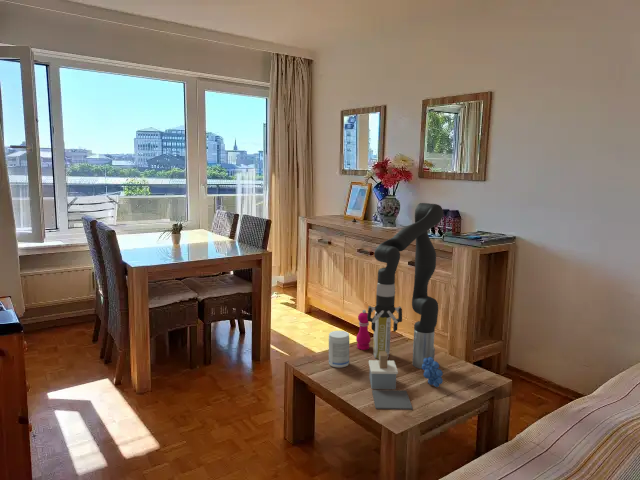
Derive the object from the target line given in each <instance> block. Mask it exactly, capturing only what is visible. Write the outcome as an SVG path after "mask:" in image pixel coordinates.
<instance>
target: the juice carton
mask: <svg viewBox="0 0 640 480" xmlns="http://www.w3.org/2000/svg"><path fill="white" fill-rule="evenodd" d="M376 313H377V312H376V311H374V315H375V314H376ZM391 319H392V318H391V317H389V318H386V317H384V318H381V317H379V318H378V319H377V320H376V321H375V331H373V343H372V344H373V345H372V346H373V347H372V350H373V357H374V359H376V360H379V351H386V352H387V356H388V358H389V356H390V350H391V349H390V347H391V327H392V324H391V323H392V320H391Z"/></svg>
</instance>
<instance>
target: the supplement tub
mask: <svg viewBox="0 0 640 480" xmlns="http://www.w3.org/2000/svg"><path fill="white" fill-rule="evenodd" d="M328 364H329V365H330V366H331V367H333V368H340V369H341V368H345V367H347V366H349V364H350V334H349V332H347V331H345V330H334V331H330V332H329V334H328Z"/></svg>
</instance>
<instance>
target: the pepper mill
mask: <svg viewBox="0 0 640 480" xmlns="http://www.w3.org/2000/svg"><path fill="white" fill-rule="evenodd" d="M367 315H368V312H367V310H366V309H363V310H362V312H360V313H359V314H358V315H357V320H358V321H359V322H358V325H359V331H358V333H357V335H356V339H355V340H356V342H357V343H356V348H357V350H360V349H361V351H366V350H369V349H370V342H371V340H372V339H371V336H370V333H369V325H370V321H368V319H367Z"/></svg>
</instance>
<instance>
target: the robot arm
mask: <svg viewBox="0 0 640 480" xmlns="http://www.w3.org/2000/svg"><path fill="white" fill-rule="evenodd" d="M443 210H444V209H443V207H442V206H441V205H440V204H436V203H427V202H420V203H418V204H417V205H416V207H415V210H414V223H411V224H409V225H406V226H405V227H403V228H402V229H400V230H399V231H398V232H397V233H396V234H394V236H393V237H391V238H389V239H386V240H385V241H383V242H381V243H380V244H379V245H378V246H377V247H376V248H375V250H374V258H375V260H376V261H377V262H381V263H385V264H386V266H385V267H381V268H379V269H378V271H377V285H376V295H375V297H376V298H375V299H376V300H375V306H371V305H368V309H367V313H368V315H367V319H368V322H369V323H371V330H372V331H373V332H374V331H375V321H376V320H377V319H378V318H379V317H381V318H384V317H386V318H389V317H391V319H392V321H393V329H392V330H393V332H394V333H395V332H396V331H397V330H398V324H399V323H402V322H403V308H402V307H401V306H397V307H395V300H396V285H395V284H396V282H395V281H396V273H397V270H398V269H397V268H398V267H399V262H400V259H401V252H403V251H405V250H406V249H407V248H408V247H409V246H410V245H411V244H412V243H413V242H414V241H415V255H414V256H415V257H414V283H413V291H412V297H411V306H412V310H413V311H414V313H416V314H418V315H420V320H418V321H416V322H414V324H413V326H414V328H413V345H412V346H413V347H412V348H413V349H412V366H413V367H415V368H416V369H421V370H423V369H422V364H423V363H424V362H423V360H424V358H429V357H432V358H433V359H434V360H435V351H436V348H435V346H434V345H435V331H436V330H435V329H436V326H437V323H438V315H439V303H438V300H436V299H435V298H433V297H431V296H429V295H428V289H429V288H428V286H429V282H430V280H431V278H432V276H433V275H434V273H435V271H436V266H437V252H436V249H435V247H434V245H433V242H432V241H431V239H430V236H429V232H428V231H429V230H430V229H432V228H433V227H435V226H437V225H438V224H439V223H440V222H441V221H442V219H443V216H444V211H443ZM374 312H377V313H376V314H375V313H374ZM395 312H396V313H398V315H397V316H398V318H397V317H396V316H395V314H394V313H395ZM372 313H374V316H372Z"/></svg>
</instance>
